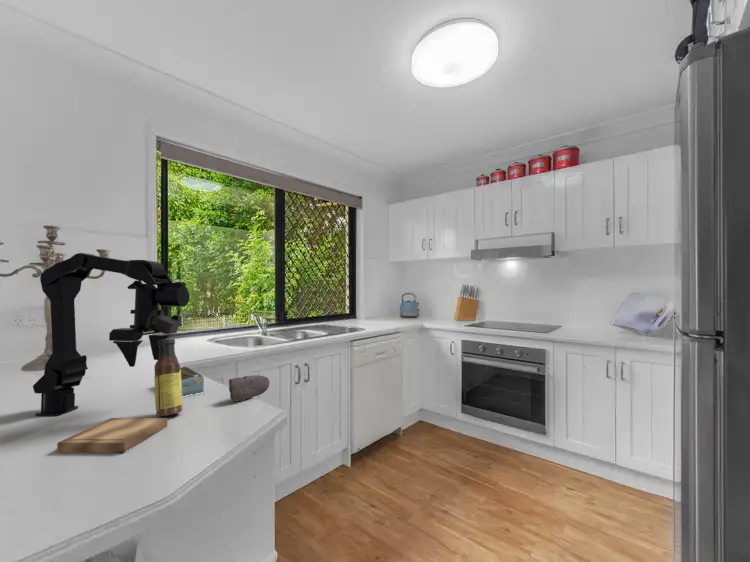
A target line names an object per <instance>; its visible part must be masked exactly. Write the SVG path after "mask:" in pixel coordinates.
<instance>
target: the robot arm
mask: <svg viewBox="0 0 750 562" xmlns="http://www.w3.org/2000/svg"><path fill="white" fill-rule="evenodd" d="M93 270H99V271H105V272H111V273H117V274H122V275H124V276H126V277H127V278H129V279H133V280H134V281H133V282H132V283H131V284H129V285H128V286H127V289H128V290H135V291H134V293H135V295H134V309H130V314H133V318H134V319H133V324H129V327H120V328H114V329H112V330H111V331H110V332H109V334H108V335H109V336H108V337H109V338H108V340H109V341H110V342H111V341H113V342H112V344H116V346H117V347H118V349H119V350H120V351H121V354H122V355H123V356H124V359H125V361H126V362H127V364H128V366H129V367H130V368H132V367H133V368H134V367H135V366H136V362H137V354H138V347H139V346H140V345H141V344H142V342H143V341H144V340H141V339H142V338H143V337H144V336H147V335H148V339H149V344H150V348H151V349H150V350H151V354H152V358H153V360H154V361H158V358H159V346H158V340H163V339H171V338H172V337H174V334H176V333H177V332H178V329H179V328H180V327H183V324H182V323H183V319H182V318H183V317H182V316H181V315H179V314H174V315H172V316H166V315H165V311H164V309H160V306H161V307H172V308H173V307H174V308H177V307H178V308H180V307H181V308H182V307H186V306H187V305H188V303H189V301H190V293H189V289H188V288H187V287H186V282H184V281H176V282H173V280H171V278H170V276H169V275H168V273H167V272H166V269H165V267H164V265H163V263H161V262H159V261H153V260H146V259H129V260H124V259H118V258H111V257H107V256H106V257H105V256H99V255H96V254H91V253H84V252H78V253H76V254H73V255H72V256H71V257H69V258H67V259H65V260H62V261H59V262H57V263H54V264H53V265H52V266H50V267H48V268H46V269H44V271H43V272H40V273H41V274H40V276H39V277H40V278H39V280H40V284H41V289H42V292H43V293H44V294H45V295H46V297H47V298H48V299H49V301H50V324H51V325H50V326H51V327H50V329H51V348H52V350H51V351H52V353H51V354H50V356H49V358H48V359H47V361H46V363H45V365H44V372H43V375H42V376H41V377H40V378H39V379H38V380H37V381H36V382H35V383H34V384H33V385H32V388H33V392H34V394H41V398H40V400H41V401H40V411H39V412H35V413H34V416H60V415H62V414H65V413H69V412H70V411H73V410H74V411H75V410H76V409H79V405H76V403H75V401H76V400H75V399H76V393H75V387H77V386H80V384H81V382H82V380H83V377H85V375H86V370H88V369H89V368H88V365H87V358H88V357H87V355H81V353H79V351H77V336H76V310H75V309H76V307H75V299H76V298H77V296H78V295H79V293H80V291H81V290H82V289H81V288H82V282H84V280H86V279H87V278H89V277H90V274H91V273H92V271H93Z"/></svg>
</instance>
